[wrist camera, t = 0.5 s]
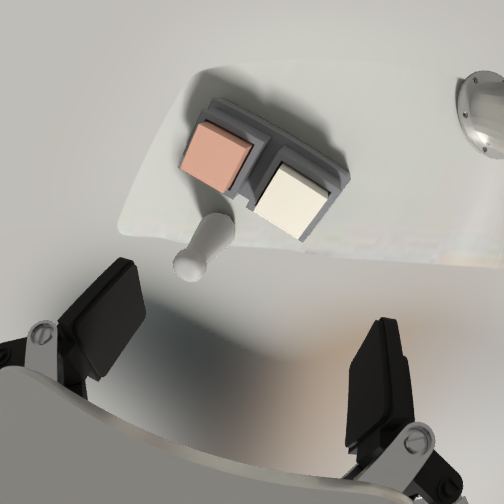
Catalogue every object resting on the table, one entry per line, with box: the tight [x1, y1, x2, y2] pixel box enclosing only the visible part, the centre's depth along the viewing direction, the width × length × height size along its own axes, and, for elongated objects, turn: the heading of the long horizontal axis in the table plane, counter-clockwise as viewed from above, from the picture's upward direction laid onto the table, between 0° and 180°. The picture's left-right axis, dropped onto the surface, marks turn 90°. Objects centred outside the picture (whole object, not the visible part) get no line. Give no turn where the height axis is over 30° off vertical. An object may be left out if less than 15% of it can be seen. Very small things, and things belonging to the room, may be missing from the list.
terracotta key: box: [180, 121, 254, 193], centre depth 31 cm, size 6×6×4 cm
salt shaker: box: [173, 213, 235, 282], centre depth 39 cm, size 6×6×13 cm
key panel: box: [178, 98, 351, 242], centre depth 34 cm, size 20×10×7 cm, turn 62°
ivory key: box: [253, 162, 328, 239], centre depth 31 cm, size 6×6×4 cm
